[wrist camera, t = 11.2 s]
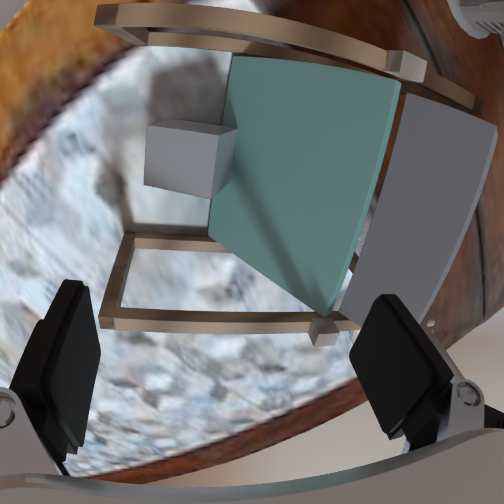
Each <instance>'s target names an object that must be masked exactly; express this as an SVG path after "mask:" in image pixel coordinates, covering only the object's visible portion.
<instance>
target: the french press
mask: <svg viewBox="0 0 504 504" xmlns="http://www.w3.org/2000/svg"><path fill="white" fill-rule="evenodd" d="M447 2H448V4H449V7H450V9H451V12H452V15H453V16H454V18H455V19H456V21H457V22H458V24H459V25H460V27H461V28H462V29H463V30H464V31H465V32H466V33H468V34H469V35H470V36H472V37H475V38H477V39H482V38H486V37H487V36H488V35H489V34H490V33H492V32H493V33H495V34H499V33H501V34H504V32H501V29H502V30H503V31H504V28H503V27H502V26H503V25H504V0H447ZM497 22H498V23H500V24H498V23H497ZM496 25H497V26H498V29H497V28H496V27H495V26H496ZM494 29H495V30H496V32H495V31H494Z"/></svg>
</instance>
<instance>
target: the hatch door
mask: <svg viewBox="0 0 504 504" xmlns="http://www.w3.org/2000/svg"><path fill="white" fill-rule="evenodd" d="M401 84H402V83H400V82H398V81H397V80H394V79H390V78H386V77H382V76H378V75H374V74H369V73H365V72H360V71H355V70H350V69H345V68H339V67H334V66H328V65H321V64H315V63H307V62H300V61H291V60H282V59H271V58H258V57H241V56H233V59H232V65H231V71H230V77H229V83H228V89H227V95H226V102H225V108H224V115H223V121H222V126H225V127H231V128H237V129H238V133H237V139H236V146H235V152H234V159H233V165H232V172H231V179H230V183H229V184H228V185H226V186H225V187H224V188H223V189H222V190H221V191H220V192H218V193H217V194H216V195H215V196H214V197H213V198H212V203H211V211H210V220H209V229H208V236H209V237H211V238H212V239H214V240H215V241H216V242H218V243H219V244H221V245H222V246H223V247H225V248H226V249H228V250H229V251H230V252H232V253H233V254H235V255H236V256H237V257H239V258H240V259H242V260H243V261H245V262H246V263H247V264H249V265H250V266H252V267H253V268H254V269H256V270H257V271H259V272H260V273H261V274H263V275H264V276H266V277H267V278H269V279H270V280H271V281H273V282H274V283H276V284H277V285H278V286H280V287H281V288H283V289H284V290H286V291H287V292H288V293H290V294H291V295H293V296H294V297H295V298H297V299H298V300H300V301H301V302H303V303H304V304H305V305H307V306H308V307H310V308H311V309H313V310H314V311H315V312H317V313H318V314H320V315H321V316H323V317H324V318H325V317H326V316H328V315H329V314H330V313H331V312H332V310H333V307H334V305H335V302H336V300H337V297H338V294H339V292H340V289H341V287H342V284H343V281H344V279H345V276H346V273H347V271H348V268H349V265H350V262H351V259H352V257H353V254H354V251H355V248H356V245H357V242H358V239H359V236H360V234H361V231H362V228H363V224H364V221H365V218H366V215H367V212H368V209H369V206H370V203H371V199H372V196H373V193H374V190H375V186H376V183H377V179H378V176H379V172H380V169H381V165H382V162H383V158H384V155H385V151H386V147H387V143H388V139H389V135H390V132H391V128H392V123H393V119H394V115H395V111H396V107H397V102H398V98H399V93H400V88H401ZM497 139H498V132H497V128H496V126H495V125H493V124H491V123H489V122H486V121H484V120H482V119H479V118H477V117H475V116H472V115H470V114H467V113H465V112H462V111H460V110H457V109H454V108H452V107H449V106H446V105H444V104H441V103H438V102H435V101H432V100H429V99H426V98H423V97H420V96H417V95H413V94H410V93H407V95H406V100H405V104H404V109H403V113H402V117H401V121H400V125H399V129H398V133H397V137H396V141H395V145H394V149H393V152H392V156H391V160H390V163H389V167H388V170H387V174H386V177H385V180H384V184H383V187H382V190H381V194H380V197H379V200H378V203H377V206H376V209H375V213H374V216H373V219H372V222H371V225H370V228H369V231H368V233H367V236H366V239H365V242H364V245H363V248H362V251H361V253H360V256H359V259H358V262H357V264H356V267H355V270H354V272H353V275H352V277H351V280H350V283H349V285H348V288H347V290H346V293H345V295H344V298H343V300H342V303H341V305H340V308H339V310H338V312H340V313H341V314H342V315H344V316H345V317H347V318H348V319H350V320H351V321H353V322H354V323H356V324H357V325H359V326H360V327H362V326H363V324H364V321H365V319H366V317H367V315H368V313H369V311H370V308H371V306H372V304H373V302H374V300H375V299H376V298H378V296H379V295H381V294H396V295H397V296H398V297H399V298H400V300H401V301H402V302H403V304H404V305H405V306H406V308H407V309H408V310H409V311H410V313H411V314H412V315H413V317H414V318H415V320H416V321H417V322H418V324H420V323H421V321H422V320H423V318H424V317H425V315H426V314H427V312H428V310H429V308H430V306H431V304H432V303H433V301H434V299H435V297H436V295H437V293H438V291H439V289H440V287H441V285H442V283H443V281H444V279H445V277H446V275H447V273H448V271H449V269H450V267H451V265H452V263H453V261H454V259H455V256H456V254H457V252H458V250H459V247H460V245H461V243H462V241H463V238H464V236H465V233H466V231H467V229H468V226H469V224H470V221H471V219H472V216H473V213H474V211H475V208H476V206H477V203H478V200H479V197H480V194H481V192H482V189H483V186H484V183H485V180H486V177H487V174H488V170H489V167H490V164H491V161H492V157H493V154H494V150H495V146H496V143H497Z"/></svg>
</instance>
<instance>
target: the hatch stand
mask: <svg viewBox="0 0 504 504" xmlns="http://www.w3.org/2000/svg"><path fill="white" fill-rule="evenodd" d="M94 26H97V27H99V28H101V29H103V30H105V31H107V32H109V33H112V34H114V35H116V36H118V37H120V38H122V39H124V40H126V41H128V42H130V43H132V44H134V45H136V46H167V47H184V48H197V49H208V50H217V51H225V52H233V53H240V54H247V55H253V56H259V57H264V58H271V59H282V60H291V61H300V62H307V63H315V64H321V65H328V66H334V67H339V68H345V69H350V70H355V71H360V72H365V73H369V74H374V75H378V74H375V73H372V72H370V71H367V70H364V69H361V68H358V67H355V66H352V65H348V64H345V63H342V62H339V61H335V60H332V59H328V58H325V57H321V56H317V55H313V54H310V53H306V52H301V51H297V50H293V49H288V48H284V47H279V46H274V45H269V44H264V43H258V42H252V41H246V40H240V39H233V38H225V37H217V36H208V35H197V34H184V33H166V32H149V31H148V30H147V29H146V28H145V27H170V28H187V29H199V30H210V31H219V32H227V33H234V34H241V35H247V36H253V37H259V38H265V39H270V40H275V41H280V42H284V43H289V44H293V45H298V46H302V47H306V48H310V49H314V50H317V51H321V52H325V53H328V54H332V55H335V56H338V57H342V58H345V59H348V60H351V61H354V62H357V63H360V64H363V65H366V66H369V67H372V68H375V69H377V70H380V71H383V72H385V73H388V74H391V75H393V76H396V77H398V78H401V79H403V80H405V81H408V82H405V81H398V80H397V81H398V82H400V83H402V84H401V88H400V93H399V94H403V95H407V93H410V94H413V95H417V96H420V97H423V98H426V99H429V100H432V101H435V102H438V103H441V104H445V105H448V106H452V107H455V108H459V109H462V110H465V111H469V112H472V113H475V114H478V115H481V114H482V109H483V105H484V101H483V100H481V99H480V98H478V97H476V96H475V95H473V94H472V93H470V92H468V91H467V90H465V89H463V88H461V87H460V86H458V85H456V84H454V83H453V82H451V81H449V80H447V79H445V78H443V77H442V76H440V75H438V74H436V73H434V72H432V71H430V70H428V69H426V65H427V61H425V60H423V59H421V58H419V57H417V56H415V55H413V54H411V53H408V52H406V51H404V50H387V51H386V50H383V49H381V48H378V47H376V46H373V45H371V44H368V43H365V42H363V41H360V40H357V39H354V38H351V37H348V36H345V35H342V34H339V33H336V32H333V31H330V30H326V29H323V28H319V27H316V26H312V25H308V24H305V23H301V22H297V21H293V20H289V19H284V18H280V17H275V16H270V15H265V14H260V13H254V12H249V11H242V10H236V9H229V8H221V7H212V6H202V5H190V4H173V3H120V4H103V5H98V6H97V11H96V16H95V21H94ZM378 76H381V75H378ZM382 77H383V76H382ZM135 248H141V249H160V250H179V251H199V252H218V253H232V252H230V251H229V250H228V249H226V248H225V247H223V246H222V245H221V244H219V243H218V242H216V241H215V240H214V239H212V238H211V237H209V236H194V235H176V234H157V233H138V232H125V234H124V236H123V239H122V242H121V245H120V248H119V251H118V254H117V257H116V260H115V263H114V266H113V269H112V272H111V275H110V278H109V281H108V284H107V288H106V291H105V294H104V298H103V301H102V304H101V308H100V312H99V315H98V319H99V324H100V328H101V329H113V330H127V331H144V332H164V333H192V334H282V333H308V334H309V336H310V339H311V341H312V344H313V346H314V347H319V346H333V345H335V343H336V340H337V338H338V336H339V334H340V332H339V331H347V330H361V328H362V327H360V326H359V325H357V324H356V323H354V322H353V321H351V320H350V319H348V318H347V317H345V316H344V315H342V314H341V313H340V312H338V311H332V312H331V313H330V314H329V315H328V316H326V317H325V318H324V317H323V316H321V315H320V314H318V313H317V312H216V311H183V310H160V309H141V308H124V307H120V306H121V301H122V297H123V293H124V288H125V284H126V280H127V276H128V272H129V268H130V264H131V260H132V256H133V253H134V249H135ZM358 259H359V257H358V255H357V254H356V253H355V252H354V254H353V257H352V259H351V262H350V265H349V269H350V270H351V272H352V273H353V272H354V270H355V267H356V264H357V262H358Z"/></svg>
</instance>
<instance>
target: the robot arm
mask: <svg viewBox="0 0 504 504" xmlns="http://www.w3.org/2000/svg"><path fill="white" fill-rule="evenodd" d="M434 324H435V320H434V319H433V318H427V319H425V318H423V320H422V321H421V323H420V324H418V322H417V321H416V320H415V318H414V317H413V315H412V314H411V313H410V311H409V310H408V309H407V308H406V306H405V305H404V304H403V302H402V301H401V300H400V298H399V297H398V296H397V295H396V294H381V295H379V296H378V298H376V299H375V300H374V302H373V304H372V306H371V308H370V311H369V313H368V315H367V317H366V319H365V321H364V324H363V326H362V328H361V330H350V339H351V341H352V343H353V346H352V348H351V350H350V354H349V358H350V362H351V364H352V366H353V368H354V370H355V372H356V374H357V376H358V379H359V381H360V383H361V385H362V387H363V389H364V391H365V394H366V396H367V398H368V400H369V402H370V404H371V407H372V409H373V411H374V413H375V415H376V417H377V420H378V422H379V424H380V426H381V429H382V431H383V432H384V433H386V434H387V436H388V438H389V440H392V439H396V438H399V437H401V436H403V435H404V434H405V436H406V441H405V444H404V448H403V451H402V454H401V455H399V456H395V457H392V458H389V459H385V460H382V461H379V462H375V463H372V464H368V465H364V466H360V467H356V468H352V469H348V470H343V471H339V472H334V473H330V474H325V475H320V476H314V477H308V478H303V479H296V480H289V481H282V482H275V483H265V484H255V485H242V486H225V487H167V486H149V485H135V484H125V483H115V482H107V481H100V480H93V479H85V478H77V477H73V476H72V475H71V473H70V472H69V470H68V469H67V467H66V466H65V464H64V461H66V454H67V453H71V454H76V455H77V450H78V446H79V447H82V446H83V444H84V439H85V433H86V426H87V421H88V415H89V409H90V404H91V399H92V394H93V389H94V384H95V379H96V375H97V370H98V366H99V362H100V356H101V349H100V344H99V339H98V335H97V330H96V325H95V320H94V315H93V309H92V303H91V298H90V291H89V288H88V286H84V284H83V282H82V281H79V280H68V279H65V280H64V281H63V282H62V284H61V286H60V288H59V290H58V292H57V294H56V296H55V298H54V299H53V301H52V303H51V305H50V308H49V310H48V312H47V314H46V316H45V318H44V320H43V319H41V320H39V321H38V322H37V324H36V326H35V328H34V330H33V332H32V334H31V336H30V339H29V341H28V343H27V345H26V348H25V350H24V352H23V354H22V357H21V359H20V362H19V364H18V366H17V369H16V371H15V374H14V376H13V379H12V382H11V384H10V387H9V389H7V388H5V387H0V504H504V413H502V412H500V411H498V410H496V409H494V408H492V407H490V406H487V405H485V404H484V396H483V393H482V391H481V389H480V388H479V387H478V386H477V385H476V384H475V383H474V382H472V381H470V380H468V379H465V378H464V376H463V375H462V373H461V372H460V370H459V369H458V367H457V366H456V365H455V363H454V362H453V360H452V359H451V357H450V356H449V354H448V353H447V352H446V350H445V349H444V347H443V346H442V345H441V343H440V342H439V341H438V339H437V338H436V336H435V335H434V330H433V328H432V327H428V326H433V325H434Z"/></svg>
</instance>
